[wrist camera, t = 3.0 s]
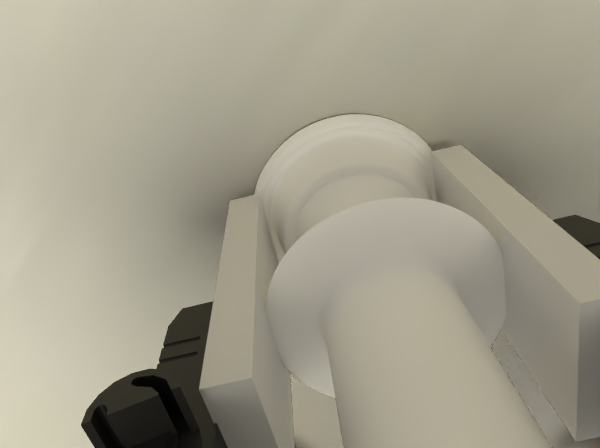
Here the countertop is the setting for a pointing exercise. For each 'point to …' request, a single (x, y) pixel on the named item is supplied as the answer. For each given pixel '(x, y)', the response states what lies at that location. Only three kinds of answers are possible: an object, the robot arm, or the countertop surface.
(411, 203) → the candle
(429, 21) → the countertop surface
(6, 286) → the countertop surface
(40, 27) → the countertop surface
